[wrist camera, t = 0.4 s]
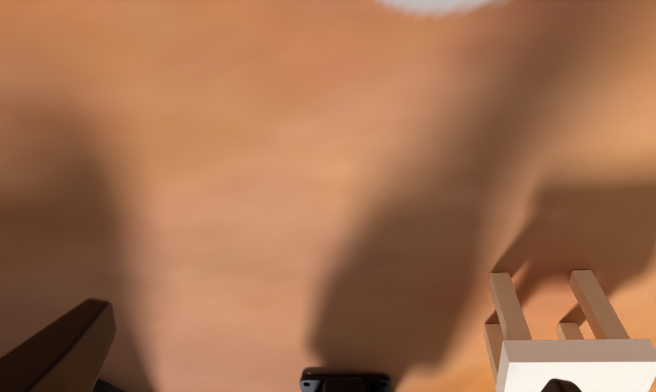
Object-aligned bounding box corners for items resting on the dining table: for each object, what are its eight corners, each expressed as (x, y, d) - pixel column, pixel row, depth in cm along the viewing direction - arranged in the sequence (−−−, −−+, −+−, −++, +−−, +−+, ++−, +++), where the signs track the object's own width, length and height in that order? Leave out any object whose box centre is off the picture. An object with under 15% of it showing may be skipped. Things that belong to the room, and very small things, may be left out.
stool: (580, 338, 28) (625, 437, 23) (474, 339, 29) (496, 435, 24) (602, 263, 25) (662, 361, 20) (481, 266, 26) (509, 362, 21)
